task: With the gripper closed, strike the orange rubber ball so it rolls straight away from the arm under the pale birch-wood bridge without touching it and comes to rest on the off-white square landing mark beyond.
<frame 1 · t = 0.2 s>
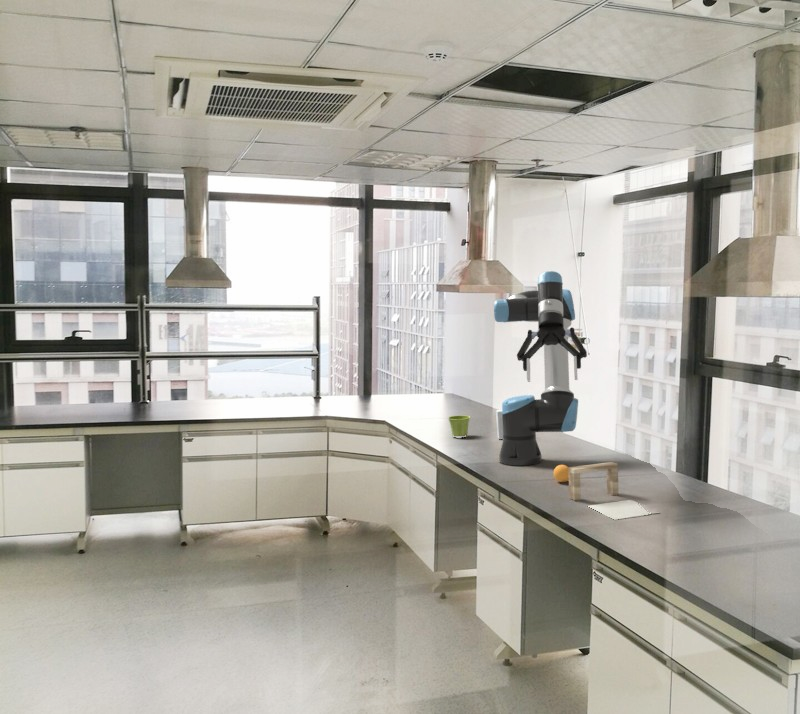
hand: (552, 378, 220), 35 cm above the lab bench, tool tilted 35°, fingers open, 13 cm apart
plant pot: (460, 437, 321), on the lab bench
ball: (562, 473, 239), on the lab bench
skincare box: (505, 439, 313), on the lab bench
bridge: (594, 496, 221), on the lab bench
landing mark: (622, 509, 207), on the lab bench
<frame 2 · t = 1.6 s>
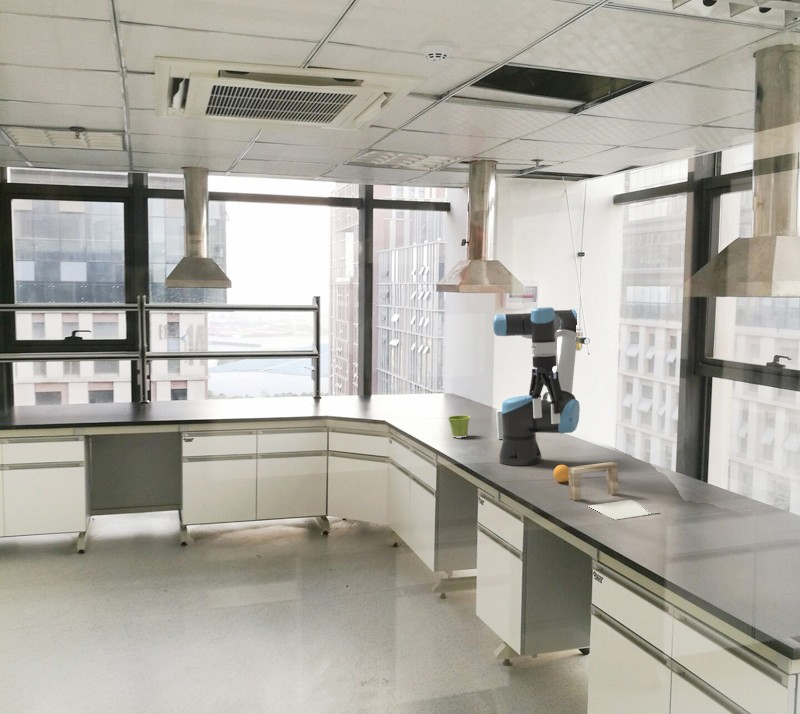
hand: (546, 420, 247), 18 cm above the lab bench, tool pointing down, fingers open, 12 cm apart
nothing on the lab bench moved.
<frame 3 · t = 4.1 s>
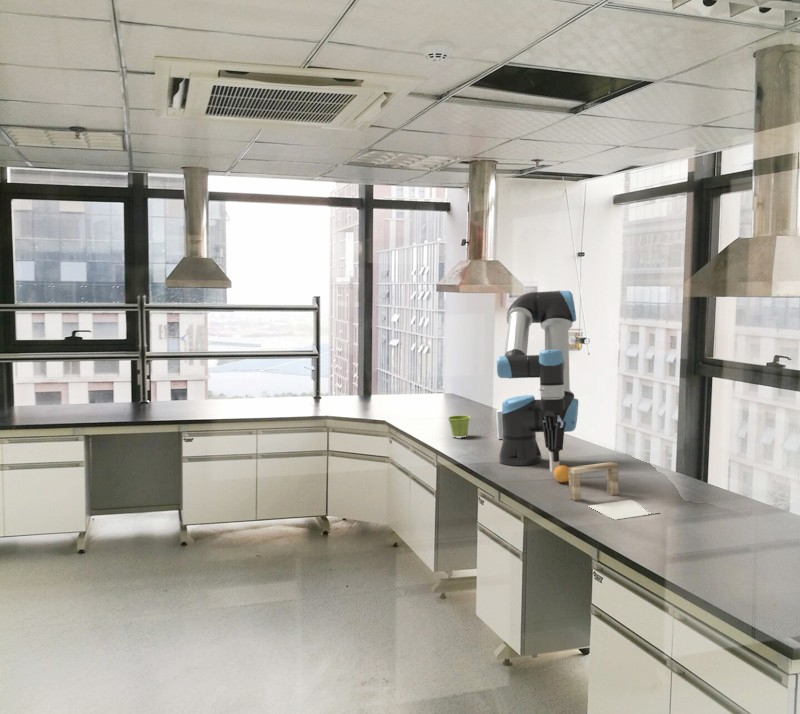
hand: (554, 471, 242), 3 cm above the lab bench, tool pointing down, fingers closed
ball: (562, 473, 239), on the lab bench, touching gripper
everything else where it was.
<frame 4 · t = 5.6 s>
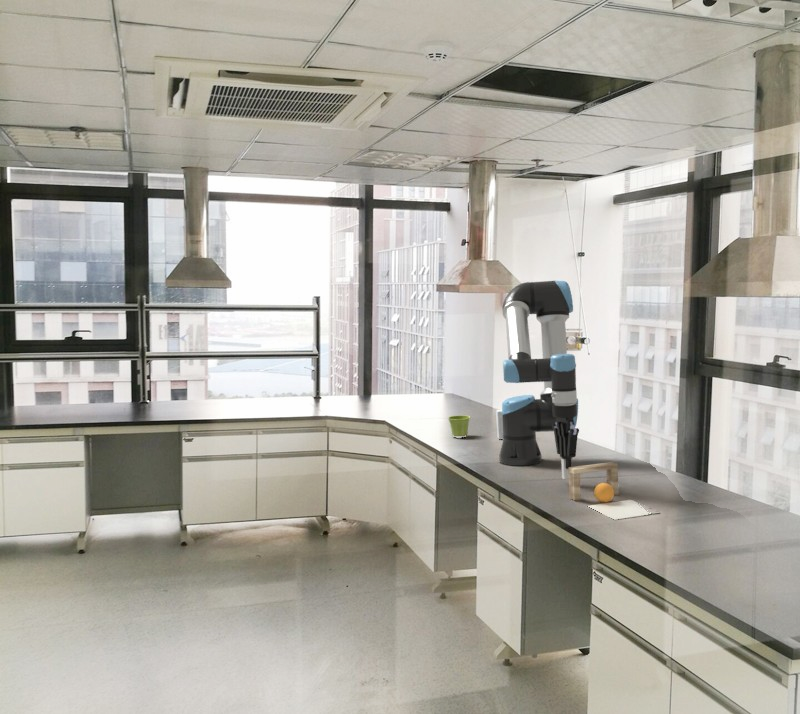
hand: (567, 478, 237), 2 cm above the lab bench, tool pointing down, fingers closed
ball: (603, 492, 215), on the lab bench
everything else where it was.
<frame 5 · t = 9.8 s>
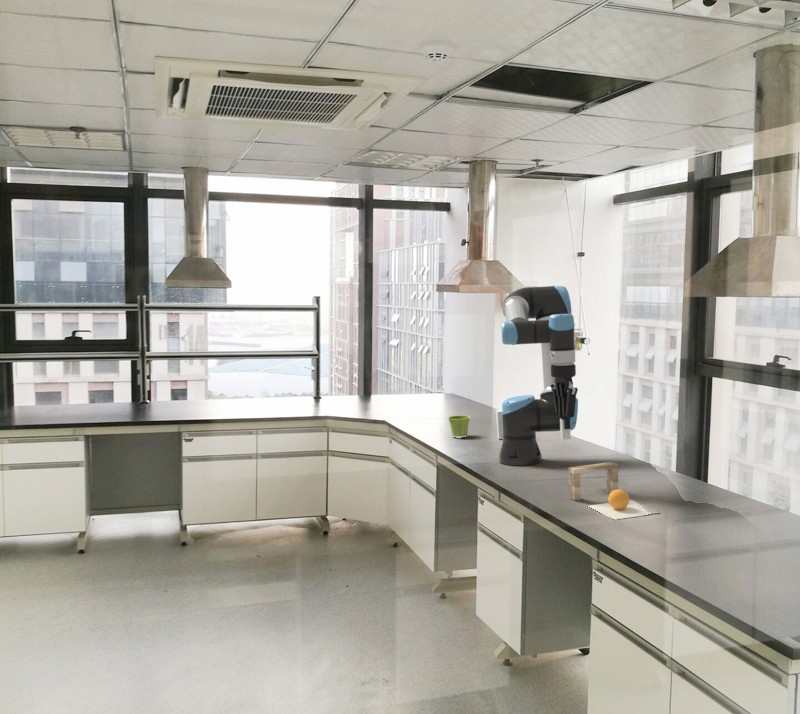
hand: (565, 438, 235), 14 cm above the lab bench, tool pointing down, fingers closed
ball: (618, 499, 207), on the lab bench
everything else where it was.
at the end: ball 1.1 cm from the landing mark (horizontally); ball never touched bridge; ball at rest at the end (0.0 cm/s) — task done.
